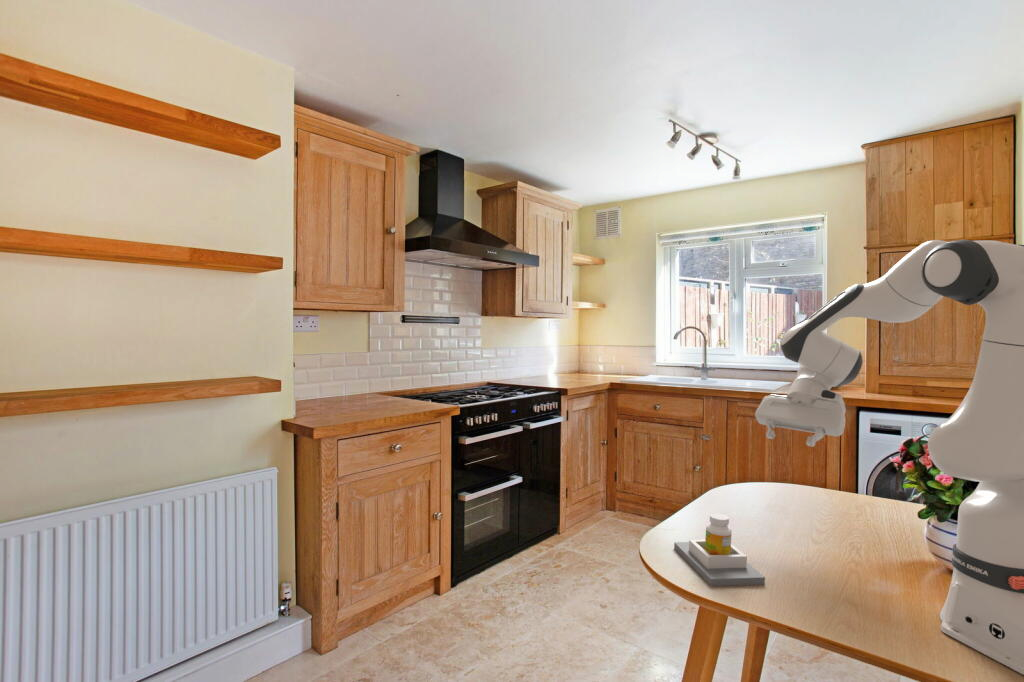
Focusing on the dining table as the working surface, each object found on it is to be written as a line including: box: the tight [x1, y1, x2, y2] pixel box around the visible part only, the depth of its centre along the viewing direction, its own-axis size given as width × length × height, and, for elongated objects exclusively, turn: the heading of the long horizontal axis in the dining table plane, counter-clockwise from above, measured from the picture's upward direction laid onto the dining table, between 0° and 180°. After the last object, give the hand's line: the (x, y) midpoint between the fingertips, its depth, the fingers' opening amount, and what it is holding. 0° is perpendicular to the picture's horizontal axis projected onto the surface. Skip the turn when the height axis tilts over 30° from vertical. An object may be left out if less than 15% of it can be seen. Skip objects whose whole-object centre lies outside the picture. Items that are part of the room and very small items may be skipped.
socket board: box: [673, 539, 766, 587], centre depth 120 cm, size 18×12×4 cm, turn 7°
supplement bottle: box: [704, 512, 733, 555], centre depth 120 cm, size 5×5×10 cm
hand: (789, 441), depth 131 cm, fingers open, 8 cm apart
